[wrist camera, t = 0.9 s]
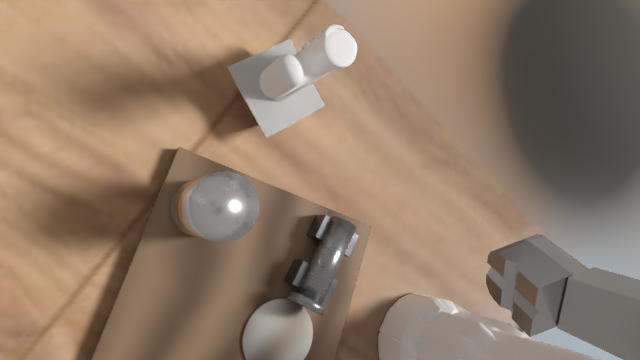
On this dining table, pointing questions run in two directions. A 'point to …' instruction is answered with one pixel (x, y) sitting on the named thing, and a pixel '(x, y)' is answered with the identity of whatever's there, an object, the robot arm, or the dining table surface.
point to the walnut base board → (226, 284)
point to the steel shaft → (321, 262)
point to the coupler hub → (215, 207)
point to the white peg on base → (291, 77)
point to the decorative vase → (456, 335)
